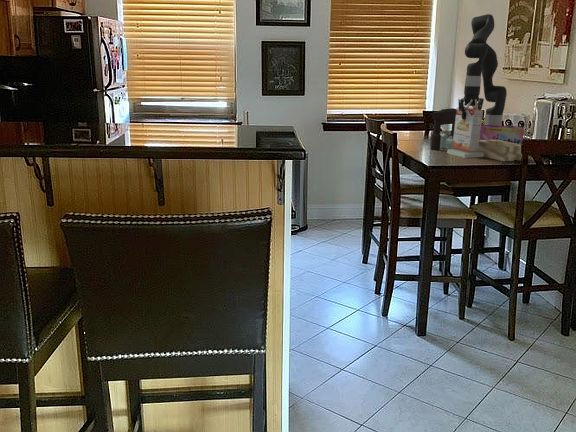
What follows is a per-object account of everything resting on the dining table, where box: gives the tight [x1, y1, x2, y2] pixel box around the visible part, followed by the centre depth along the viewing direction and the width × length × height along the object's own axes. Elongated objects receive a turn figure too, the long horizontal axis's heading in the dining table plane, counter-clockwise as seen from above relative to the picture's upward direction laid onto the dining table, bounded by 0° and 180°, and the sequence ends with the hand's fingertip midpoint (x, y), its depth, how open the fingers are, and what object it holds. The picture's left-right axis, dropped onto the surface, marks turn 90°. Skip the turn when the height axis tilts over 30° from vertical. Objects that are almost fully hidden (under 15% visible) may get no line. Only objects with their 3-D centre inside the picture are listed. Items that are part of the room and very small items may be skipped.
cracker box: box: [452, 106, 484, 152], centre depth 290 cm, size 14×6×21 cm, turn 21°
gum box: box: [479, 124, 526, 144], centre depth 305 cm, size 24×8×14 cm, turn 75°
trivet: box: [447, 149, 484, 159], centre depth 293 cm, size 12×14×2 cm
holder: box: [478, 140, 522, 162], centre depth 289 cm, size 14×22×7 cm, turn 21°
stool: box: [430, 108, 458, 151], centre depth 313 cm, size 16×21×33 cm
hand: (469, 119), depth 288 cm, fingers closed on cracker box, 6 cm apart
